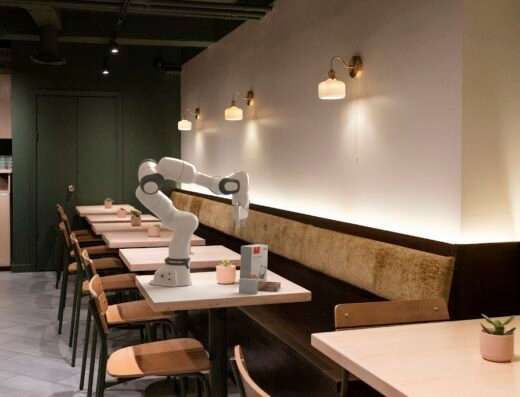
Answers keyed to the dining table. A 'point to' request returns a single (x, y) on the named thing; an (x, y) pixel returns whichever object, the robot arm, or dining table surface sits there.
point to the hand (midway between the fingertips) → (239, 227)
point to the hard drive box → (254, 262)
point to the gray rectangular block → (248, 285)
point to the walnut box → (269, 286)
